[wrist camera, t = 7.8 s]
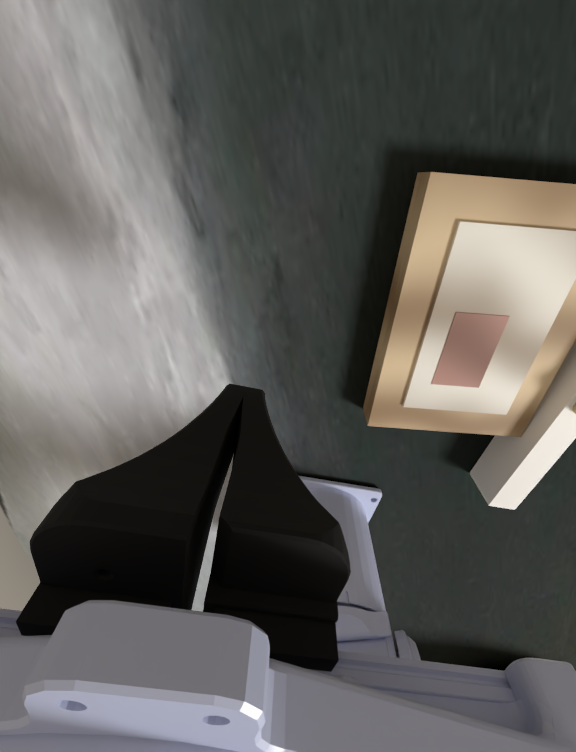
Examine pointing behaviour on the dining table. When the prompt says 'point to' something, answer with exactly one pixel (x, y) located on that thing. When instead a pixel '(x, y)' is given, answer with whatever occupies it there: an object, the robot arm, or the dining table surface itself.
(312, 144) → the dining table surface
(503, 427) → the frame
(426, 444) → the dining table surface
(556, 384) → the rail
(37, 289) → the dining table surface
